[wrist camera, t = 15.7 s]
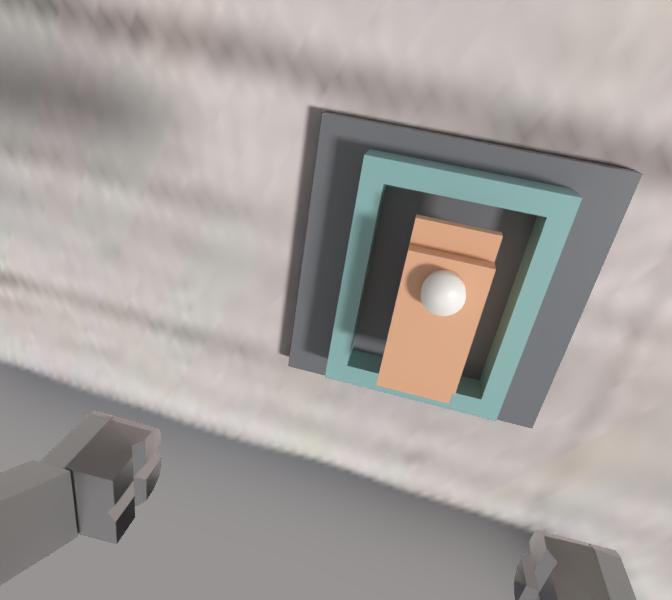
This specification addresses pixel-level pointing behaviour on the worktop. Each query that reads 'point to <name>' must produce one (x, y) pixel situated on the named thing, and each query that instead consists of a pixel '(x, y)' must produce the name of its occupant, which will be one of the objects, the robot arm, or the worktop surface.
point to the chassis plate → (465, 208)
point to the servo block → (438, 307)
